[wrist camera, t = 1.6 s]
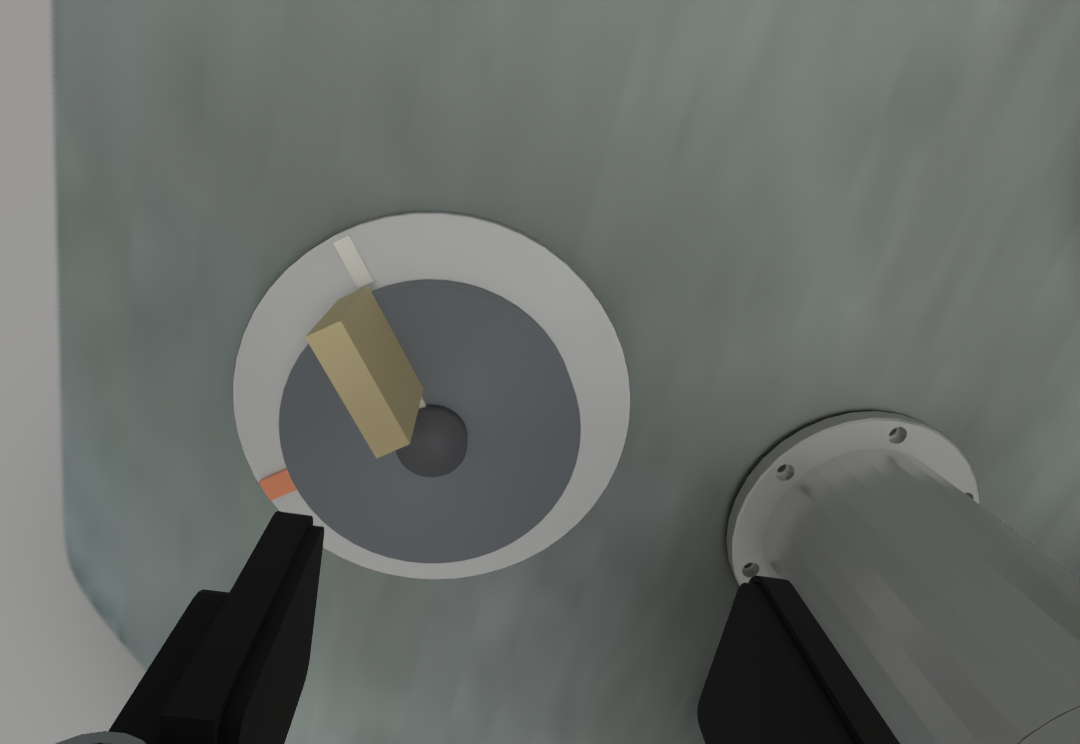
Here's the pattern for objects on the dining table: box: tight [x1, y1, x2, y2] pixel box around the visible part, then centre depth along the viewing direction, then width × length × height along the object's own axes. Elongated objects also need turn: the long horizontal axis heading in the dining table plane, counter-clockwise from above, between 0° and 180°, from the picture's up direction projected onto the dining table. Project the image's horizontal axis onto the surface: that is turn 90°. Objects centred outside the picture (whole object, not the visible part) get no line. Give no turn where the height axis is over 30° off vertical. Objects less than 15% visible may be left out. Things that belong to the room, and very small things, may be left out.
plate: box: [233, 211, 630, 579], centre depth 30 cm, size 17×17×2 cm
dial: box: [279, 279, 581, 563], centre depth 26 cm, size 12×12×7 cm
